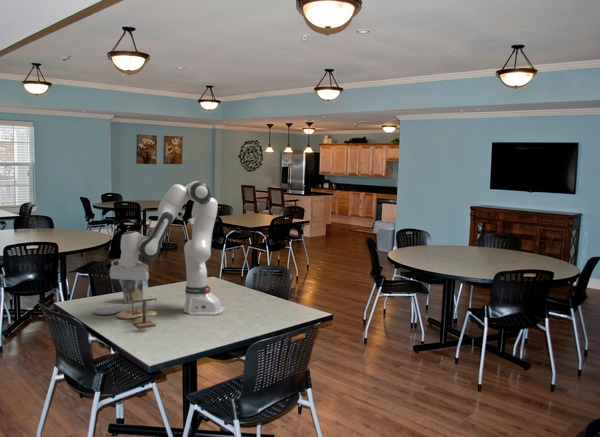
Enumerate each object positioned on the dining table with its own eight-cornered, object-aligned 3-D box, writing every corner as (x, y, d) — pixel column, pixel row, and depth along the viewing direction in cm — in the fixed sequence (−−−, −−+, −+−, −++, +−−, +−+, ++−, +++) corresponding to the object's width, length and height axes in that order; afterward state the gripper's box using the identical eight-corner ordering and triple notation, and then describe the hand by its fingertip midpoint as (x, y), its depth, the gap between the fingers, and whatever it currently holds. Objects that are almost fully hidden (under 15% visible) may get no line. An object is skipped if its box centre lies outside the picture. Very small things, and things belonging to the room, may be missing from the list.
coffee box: (136, 299, 310) (136, 272, 308) (143, 301, 306) (143, 274, 304) (123, 302, 302) (122, 274, 301) (129, 304, 298) (129, 276, 297)
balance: (160, 329, 252) (160, 298, 251) (144, 332, 248) (144, 301, 246) (143, 318, 271) (143, 289, 269) (128, 320, 266) (128, 291, 264)
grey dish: (123, 310, 285) (123, 308, 285) (112, 316, 272) (112, 314, 272) (101, 308, 287) (101, 306, 287) (89, 314, 274) (88, 312, 274)
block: (135, 291, 275) (135, 280, 274) (131, 293, 270) (131, 282, 269) (126, 290, 275) (127, 279, 275) (122, 292, 270) (122, 281, 270)
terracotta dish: (146, 313, 279) (146, 311, 279) (135, 320, 267) (135, 318, 266) (123, 312, 281) (123, 310, 281) (111, 318, 268) (111, 316, 268)
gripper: (150, 262, 273) (150, 288, 274) (114, 259, 276) (114, 285, 277) (145, 264, 267) (145, 290, 268) (108, 261, 269) (108, 288, 271)
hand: (129, 288), depth 272 cm, fingers closed on block, 5 cm apart
